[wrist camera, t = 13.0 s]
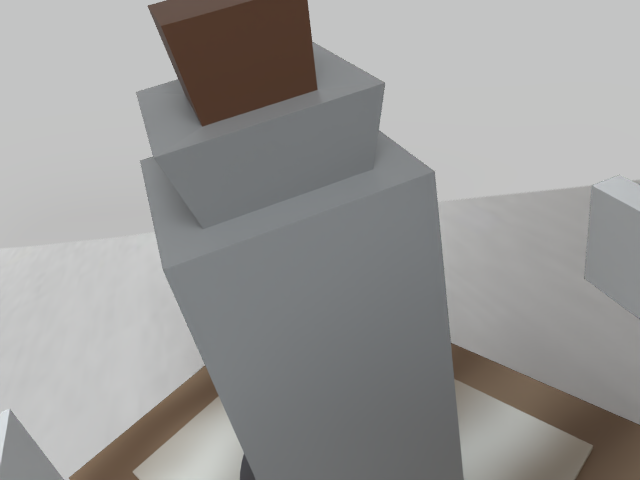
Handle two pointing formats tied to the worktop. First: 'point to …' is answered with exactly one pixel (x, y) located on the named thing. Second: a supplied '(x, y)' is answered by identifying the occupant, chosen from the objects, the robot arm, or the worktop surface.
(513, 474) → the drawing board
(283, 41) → the perfume bottle
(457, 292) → the worktop surface
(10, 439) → the robot arm
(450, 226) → the worktop surface
